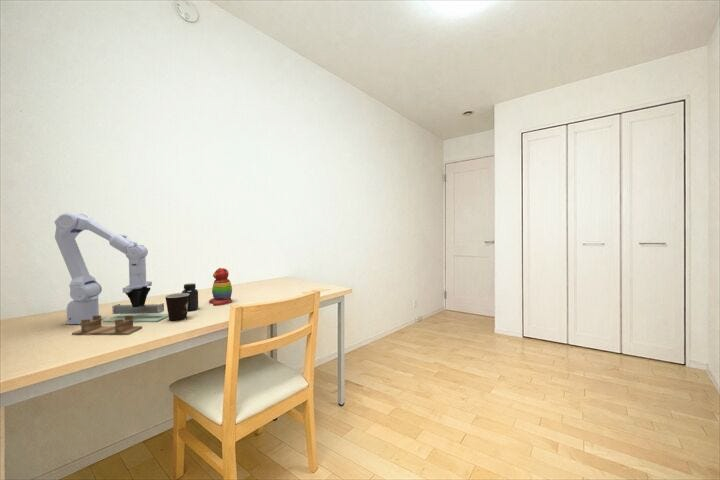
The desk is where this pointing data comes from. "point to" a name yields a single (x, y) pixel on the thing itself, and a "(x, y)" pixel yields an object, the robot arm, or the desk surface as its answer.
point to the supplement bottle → (191, 296)
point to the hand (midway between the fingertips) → (138, 306)
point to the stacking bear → (221, 288)
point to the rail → (137, 309)
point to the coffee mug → (177, 306)
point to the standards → (107, 327)
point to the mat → (140, 317)
